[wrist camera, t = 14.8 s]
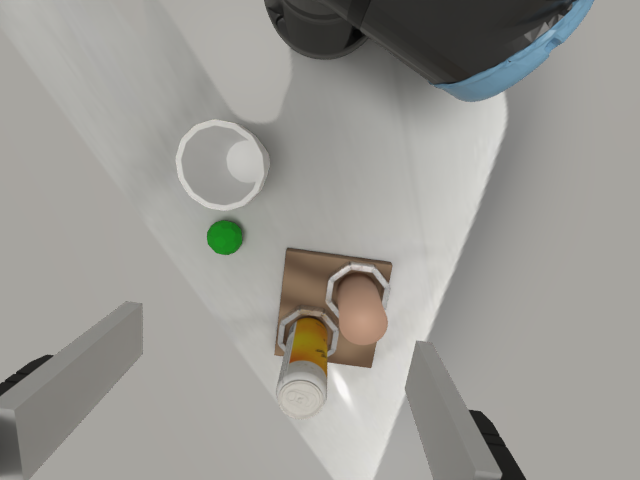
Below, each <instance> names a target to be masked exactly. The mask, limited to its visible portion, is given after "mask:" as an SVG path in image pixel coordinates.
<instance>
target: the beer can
mask: <svg viewBox="0 0 640 480" xmlns="http://www.w3.org/2000/svg"><path fill="white" fill-rule="evenodd" d="M327 339H328V334H327V330H326V328H325V326H324V325H323V324H322V323H321V322H320V321H318V320H316V319H314V318H302V319H299V320H297V321H296V322H295V323H293V325H292V326H291V328H290V330H289V335H288V339H287V344H286V348H285V353H284V357H283V362H282V366H281V371H280V375H279V380H278V384H277V389H276V396H277V400H278V403H279V406H280V408H281V410H282V411H283V412H284V413H285V414H286V415H288V416H290V417H292V418H295V419H308V418H311V417H313V416H315V415H317V414H318V413H319V412H320V410H321V409H322V407H323V405H324V403H325V401H326V398H327Z"/></svg>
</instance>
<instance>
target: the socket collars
mask: <svg viewBox="0 0 640 480" xmlns="http://www.w3.org/2000/svg"><path fill="white" fill-rule="evenodd" d="M350 270H358V271H365V272H372V273H373V274H374V275H375V276H376V278H377V279H378V280H379V282H380V283H381V284H382V286H383V288H382V293H381V298H380V299H381V302H382V305H383V308H384V309H385V310H386V307H387V302H388V297H389V292H390V285H389V283H388V282H387V280H386V279H385V278H384V276H383V275H382V274H381V272H380V271H379V270H378V268H377V267H376V266H375V265H374V264H369V263H361V262H354V261H350V263H349V262H347V263H345V264H344V265H343V266H341V267H340V268H338V269H337V270H335V271H334V272H332V273H331V274H330V276H329V277H328V284H327V290H326V297H325V301H326V304H327V305H328V306H329V308H330V309H331V310H332V311H333V312H334V314H335V315H336V316H337V317H338V319H339V313H338V305H337V304H336V303H335V301H334V300H333V299H332V298H331V296H332V290H333V284H334V281H336V280H337V279H338V278H340V277H341V276H343V275H344V274H346V273H347V272H349V271H350ZM385 310H384V311H385ZM300 314H304V315H311V316H319V317H322V318H323V319H324V321H325V322H326V323H327V324H328V325H329V327H330V328H331V329H332V330H333V333H332V339H331V344H330V345H328V346H327V357H328V356H330V355H332V354H333V353H335V351H336V346H337V341H338V335H339V326H338V324H337V323H336V321H335V320H334V319H333V318H332V316H331V315H330V314H329V313H328V312H327V310H326V309H324V310H323V308H322V307H314V306H307V305H301V306H300V305H299V306H297V307H296V308H295V309H293V310H292V311H290V312H289V313H287V314H286V315H284V316H283V317H282V319H281V321H280V326H279V335H278V345H279V347H280V348H281V349H282V350H283V351H284V352H285V348H286V344H287V341H286V340H285V338H284V333H285V325H286V324H287V323H289V322H290V321H292V320H293V319H294V318H296V317H297V316H299V315H300Z"/></svg>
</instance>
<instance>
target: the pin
mask: <svg viewBox="0 0 640 480" xmlns="http://www.w3.org/2000/svg"><path fill="white" fill-rule="evenodd" d="M337 296H338V313H339V327H340V331H341V333H342V335H343V336H344V337H345V338H346V339H347V340H348V341H350V342H351V343H354V344H357V345H369V344H372V343H375V342H376V341H378V340H379V339H381V338H382V336H383V335H384V334H385V332H386V330H387V325H388V321H387V316H386V313H385V311H384V308H383V305H382V302H381V299H380V296H379V293H378V290H377V287H376V285H375V282H374V281H373V279H372V278H371V277H370V276H368V275H366V274H364V273H360V272H354V273H350V274H348V275H346V276H345V277H343V278H342V279H341V281H340V282H339V284H338V288H337Z"/></svg>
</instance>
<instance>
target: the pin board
mask: <svg viewBox="0 0 640 480" xmlns="http://www.w3.org/2000/svg"><path fill="white" fill-rule="evenodd" d="M350 261H354V262H361V263H369V264H374V265H375V266H376V267H377V268H378V270H379V271H380V272H381V274H382V275H383V276H384V278H385V279H386V280H387V282H388V283H389V280H390V275H391V270H392V264H391V262H386V261H378V260H371V259H364V258H357V257H349V256H342V255H335V254H328V253H320V252H313V251H306V250H299V249H291V248H287V251H286V258H285V267H284V276H283V285H282V293H281V302H280V311H279V319H278V328H277V337H276V345H275V354H274V355H277V356H284V353H285V352H284V351H283V350H282V349H281V348H280V347H279V345H278V335H279V326H280V321H281V319H282V317H283V316H284V315H286V314H287V313H289V312H290V311H292V310H293V309H295V308H296V307H297V306H299V305H300V306H301V305H307V306H314V307H322V308H323V310H324V309H326V310H327V312H328V313H329V314H330V315H331V316H332V318H333V319H334V320H335V321H336V323H337V324H338V326H339V319H338V317H337V316H336V315H335V314H334V312H333V311H332V310H331V309H330V308H329V306H328V305H327V304H326V301H325V297H326V290H327V284H328V277H329V276H330V274H331V273H332V272H334V271H335V270H337V269H338V268H340V267H341V266H343V265H344V264H345V263H347V262H349V263H350ZM354 272H360V273H364V274H366V275H368V276H370V277H371V278H372V279H373V281H374V282H375V285H376V287H377V290H378V293H379V296H380V298H381V293H382V288H383V286H382V284H381V283H380V282H379V280H378V279H377V278H376V276H375V275H374V274H373V273H372V272H365V271H358V270H350V271H349V272H347V273H346V274H344V275H343V276H341V277H340V278H338V279H337V280H336V281H334V284H333V290H332V296H331V298H332V299H333V300H334V301H335V303H336V304H337V305H338V296H337V288H338V284H339V282H340V281H341V279H342V278H343V277H345V276H346V275H348V274H350V273H354ZM302 318H314V319H316V320H318V321H320V322H321V323H322V324H323V325H324V326H325V328H326V330H327V334H328V339H327V346H328V345H330V344H331V339H332V333H333V330H332V329H331V328H330V327H329V325H328V324H327V323H326V322H325V321H324V319H323V318H322V317H319V316H311V315H304V314H300V315H299V316H297V317H296V318H294V319H293V320H292V321H290V322H289V323H287V324H286V325H285V333H284V338H285V340H286V341H287V339H288V335H289V330H290V328H291V326H292V325H293V323H295V322H296V321H297V320H299V319H302ZM376 343H377V341H376V342H375V343H372V344H369V345H357V344H354V343H351V342H350V341H348V340H347V339H346V338H345V337H344V336H343V335H342V333H341V331H340V327H339V335H338V341H337V346H336V351H335V353H333V354H332V355H330V356H328V357H327V362H330V363H337V364H345V365H352V366H360V367H367V368H371V367H372V362H373V357H374V352H375V347H376Z"/></svg>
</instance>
